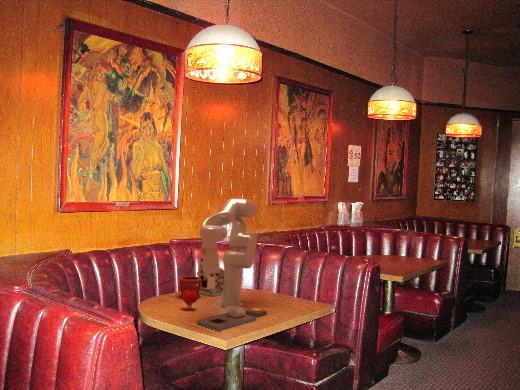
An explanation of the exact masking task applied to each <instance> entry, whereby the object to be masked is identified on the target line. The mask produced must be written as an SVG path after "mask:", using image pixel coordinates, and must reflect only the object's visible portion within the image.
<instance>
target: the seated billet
mask: <svg viewBox="0 0 520 390" xmlns="http://www.w3.org/2000/svg"><path fill="white" fill-rule="evenodd" d="M228 312H229V317H231V318H234V319H238V318H242V317H243V314H244V307H243V306H242V307H240V306H234V307H229V310H228Z"/></svg>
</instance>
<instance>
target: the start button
mask: <svg viewBox="0 0 520 390" xmlns="http://www.w3.org/2000/svg"><path fill="white" fill-rule="evenodd" d="M262 310H263V309H262V308H258V307H254V308H250V311H253V312H260V311H262Z"/></svg>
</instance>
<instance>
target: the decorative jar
mask: <svg viewBox="0 0 520 390" xmlns="http://www.w3.org/2000/svg"><path fill="white" fill-rule="evenodd" d="M219 270H220V272H219V273H218V275H217V276H216V279H215V288H213V289H208V290H207V289H204V288H200V291H199V294H200V295H205V296H209V297H217V296H223V295H224V268H223V267H219ZM209 275H210V274H209Z"/></svg>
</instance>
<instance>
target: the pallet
mask: <svg viewBox="0 0 520 390" xmlns="http://www.w3.org/2000/svg"><path fill="white" fill-rule="evenodd" d="M256 320H257V317H254V316H250V315H247V314H246V313H243V317H242V318H238V319H234V318H231V317H229V311H228V312H227V311H226V312H224V313H221V314H217V315H212V316H209V317H205V318H200V319H197V320H196V326H197V325H198V327H200V326H202V327H201V328H203V327H205V328H204V329H207V328H208V329H207V330H210V329H211V330H210V331H213V330H215V331H214V332H216V331H218V332H217V333H219V332H221V333H222V331H223V330H227V329H230V328H233V327H238V326H241V325H245V324H248V323H252V322H255V321H256Z"/></svg>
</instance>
